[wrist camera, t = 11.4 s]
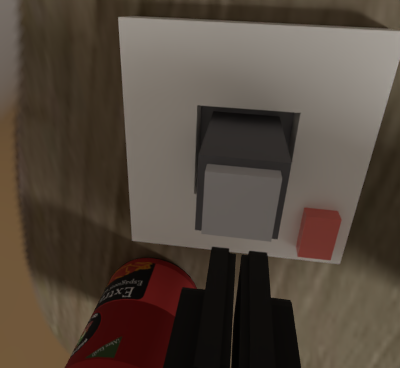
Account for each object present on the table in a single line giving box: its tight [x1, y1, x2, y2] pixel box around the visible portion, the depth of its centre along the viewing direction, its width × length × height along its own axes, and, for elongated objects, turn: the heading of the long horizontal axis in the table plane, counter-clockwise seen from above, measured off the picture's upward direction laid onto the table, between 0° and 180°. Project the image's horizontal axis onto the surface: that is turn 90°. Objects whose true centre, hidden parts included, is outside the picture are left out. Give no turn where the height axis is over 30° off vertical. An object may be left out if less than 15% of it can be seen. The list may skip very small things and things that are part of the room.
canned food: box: [65, 258, 197, 368], centre depth 24 cm, size 8×8×11 cm
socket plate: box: [118, 16, 400, 264], centre depth 21 cm, size 14×14×3 cm
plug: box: [195, 111, 292, 242], centre depth 19 cm, size 4×4×8 cm
